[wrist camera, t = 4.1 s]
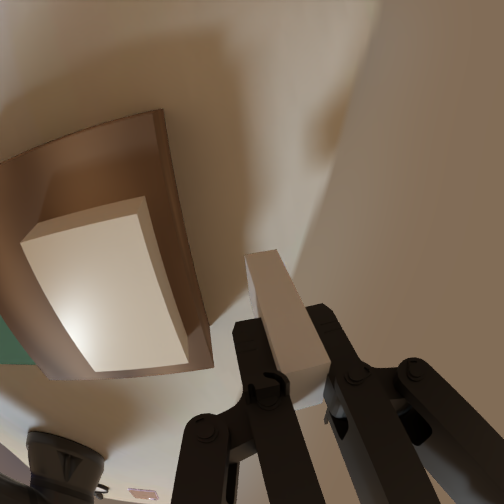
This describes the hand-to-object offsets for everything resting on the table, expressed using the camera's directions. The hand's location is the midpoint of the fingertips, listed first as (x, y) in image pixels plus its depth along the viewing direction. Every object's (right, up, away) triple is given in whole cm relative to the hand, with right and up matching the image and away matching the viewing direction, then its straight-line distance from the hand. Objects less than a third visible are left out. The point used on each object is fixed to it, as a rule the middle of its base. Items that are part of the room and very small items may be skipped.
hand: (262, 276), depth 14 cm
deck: (-11, +1, +3) cm, 12 cm away
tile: (-8, -1, 0) cm, 8 cm away
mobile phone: (-30, -65, +40) cm, 83 cm away
